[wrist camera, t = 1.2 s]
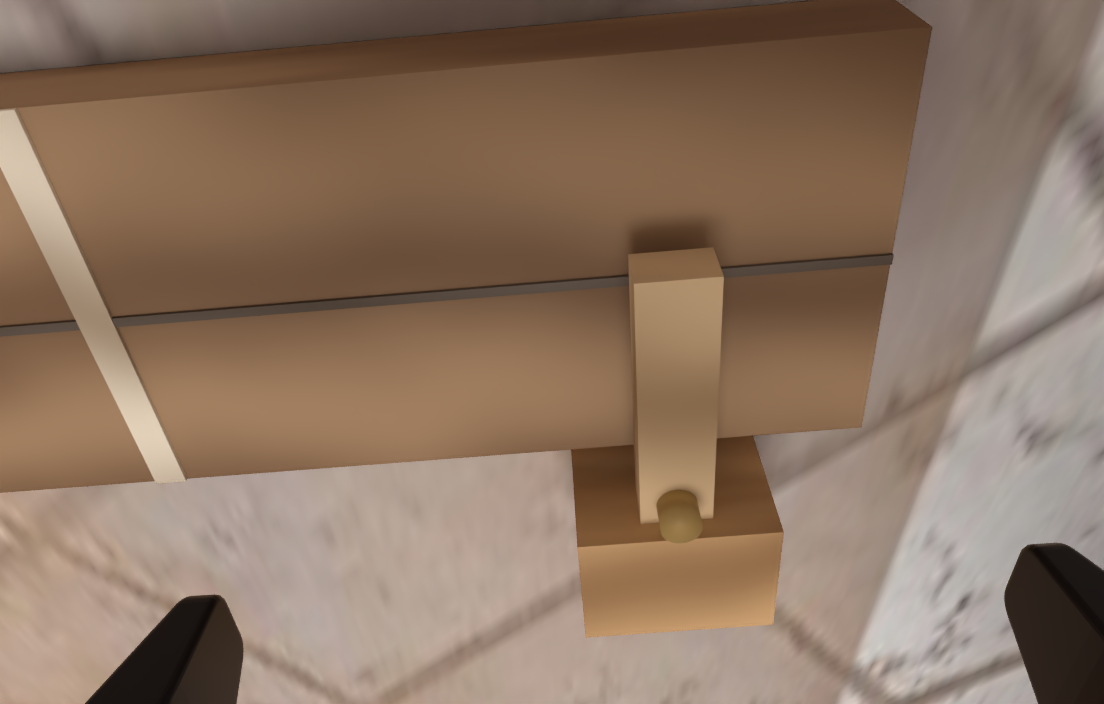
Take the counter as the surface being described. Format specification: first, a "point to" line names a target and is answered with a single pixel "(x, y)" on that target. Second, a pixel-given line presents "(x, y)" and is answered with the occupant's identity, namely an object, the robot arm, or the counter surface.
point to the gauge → (675, 476)
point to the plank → (440, 238)
